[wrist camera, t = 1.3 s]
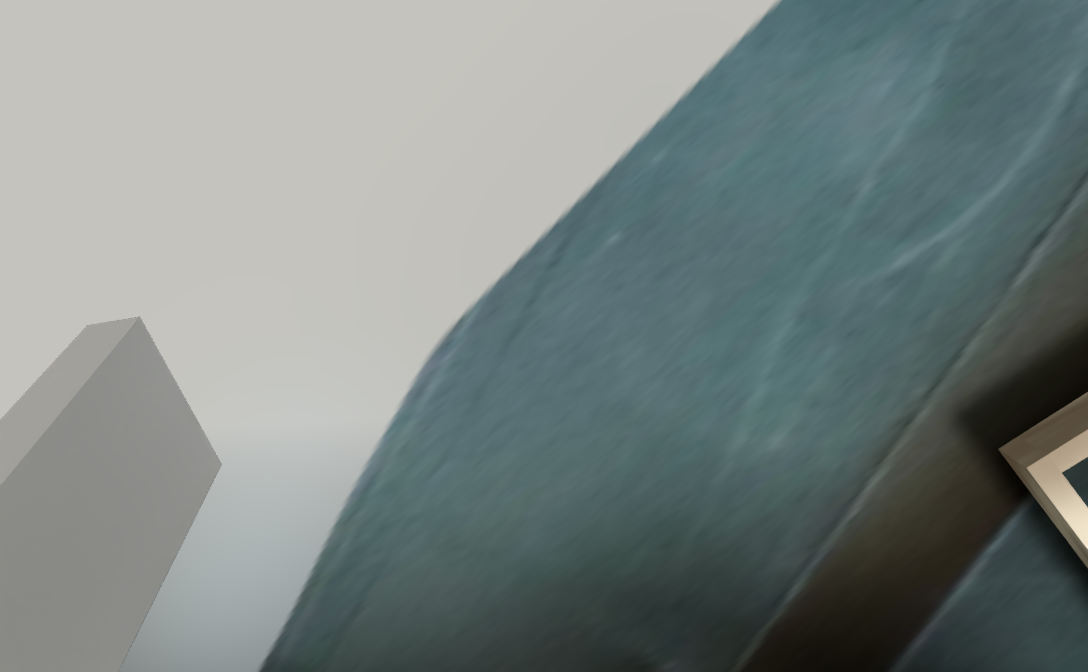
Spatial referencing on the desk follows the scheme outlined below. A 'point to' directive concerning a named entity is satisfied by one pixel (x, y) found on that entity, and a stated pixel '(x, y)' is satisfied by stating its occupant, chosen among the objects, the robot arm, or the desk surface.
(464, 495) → the desk surface
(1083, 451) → the beige square frame
